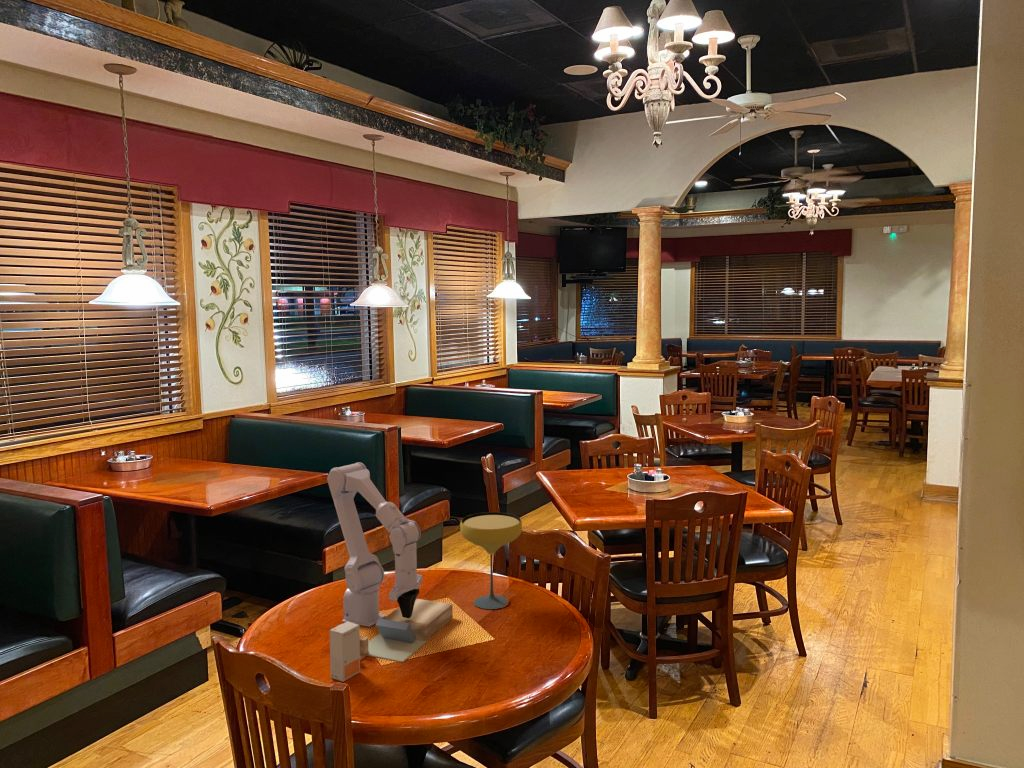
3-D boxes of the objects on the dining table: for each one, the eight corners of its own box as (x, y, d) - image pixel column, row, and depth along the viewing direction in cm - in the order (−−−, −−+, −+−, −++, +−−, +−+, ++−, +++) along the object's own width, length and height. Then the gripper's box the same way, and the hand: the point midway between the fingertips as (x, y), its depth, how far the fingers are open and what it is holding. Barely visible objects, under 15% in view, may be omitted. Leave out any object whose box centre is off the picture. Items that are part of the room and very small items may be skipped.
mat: (354, 653, 194) (354, 652, 194) (380, 634, 205) (380, 633, 205) (402, 662, 189) (402, 661, 189) (426, 642, 200) (426, 641, 200)
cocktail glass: (448, 604, 225) (447, 521, 222) (489, 586, 238) (488, 508, 236) (494, 620, 213) (493, 533, 210) (534, 601, 227) (534, 519, 224)
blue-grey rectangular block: (386, 631, 203) (382, 638, 202) (378, 618, 200) (375, 624, 198) (415, 636, 200) (412, 643, 198) (409, 623, 196) (406, 630, 195)
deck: (382, 633, 205) (382, 619, 205) (412, 611, 220) (411, 597, 219) (425, 641, 200) (425, 626, 200) (452, 617, 215) (452, 604, 215)
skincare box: (343, 682, 179) (341, 633, 178) (330, 678, 181) (328, 629, 180) (361, 672, 184) (360, 624, 183) (348, 667, 186) (347, 620, 185)
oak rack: (338, 660, 190) (337, 644, 189) (352, 650, 195) (351, 634, 195) (355, 664, 188) (354, 647, 187) (368, 653, 193) (368, 637, 193)
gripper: (405, 578, 194) (406, 629, 196) (432, 560, 208) (433, 608, 209) (381, 575, 197) (382, 625, 198) (409, 557, 210) (410, 605, 212)
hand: (407, 616), depth 204 cm, fingers closed
